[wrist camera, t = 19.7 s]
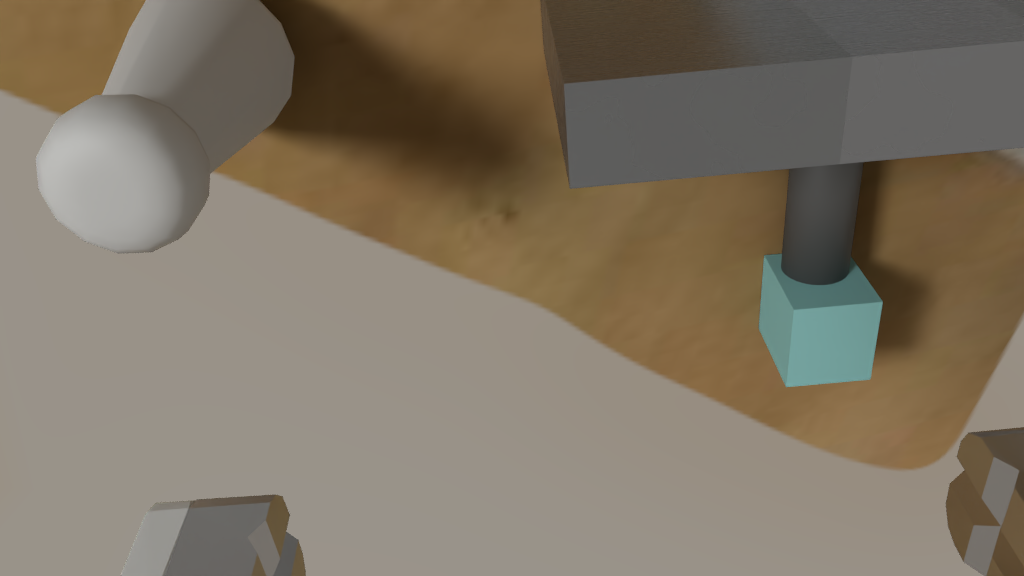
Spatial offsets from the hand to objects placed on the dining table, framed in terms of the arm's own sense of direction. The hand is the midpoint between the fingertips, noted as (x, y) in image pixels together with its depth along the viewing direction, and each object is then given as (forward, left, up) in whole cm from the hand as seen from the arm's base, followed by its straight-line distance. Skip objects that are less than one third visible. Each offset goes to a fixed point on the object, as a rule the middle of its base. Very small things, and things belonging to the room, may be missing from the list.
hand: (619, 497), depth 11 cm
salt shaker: (+2, -12, -27) cm, 29 cm away
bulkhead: (+2, +10, -27) cm, 29 cm away
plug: (+11, +11, -27) cm, 31 cm away
